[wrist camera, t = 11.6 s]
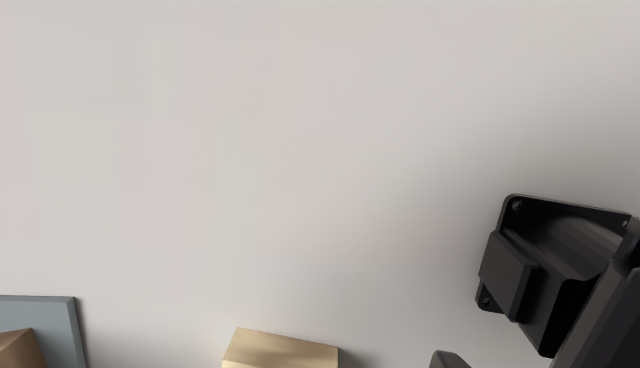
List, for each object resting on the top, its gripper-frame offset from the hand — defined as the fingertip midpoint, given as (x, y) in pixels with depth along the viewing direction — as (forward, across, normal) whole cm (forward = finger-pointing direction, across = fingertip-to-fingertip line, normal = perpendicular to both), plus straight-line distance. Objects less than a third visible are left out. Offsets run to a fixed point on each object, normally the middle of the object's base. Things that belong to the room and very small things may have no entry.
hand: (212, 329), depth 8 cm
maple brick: (+13, -1, +11) cm, 17 cm away
